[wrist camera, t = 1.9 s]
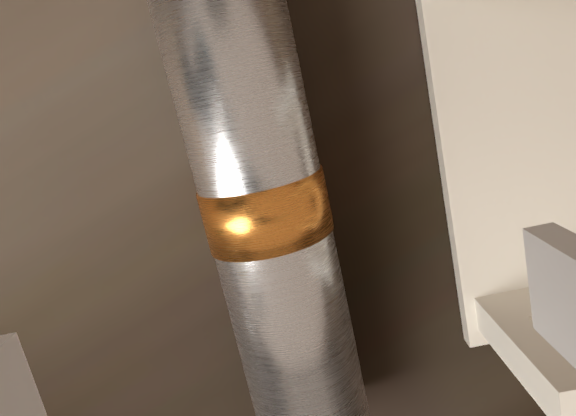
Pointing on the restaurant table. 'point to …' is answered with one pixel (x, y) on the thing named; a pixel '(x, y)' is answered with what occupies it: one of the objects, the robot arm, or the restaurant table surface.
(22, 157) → the restaurant table surface
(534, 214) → the collar stand
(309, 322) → the air tube
